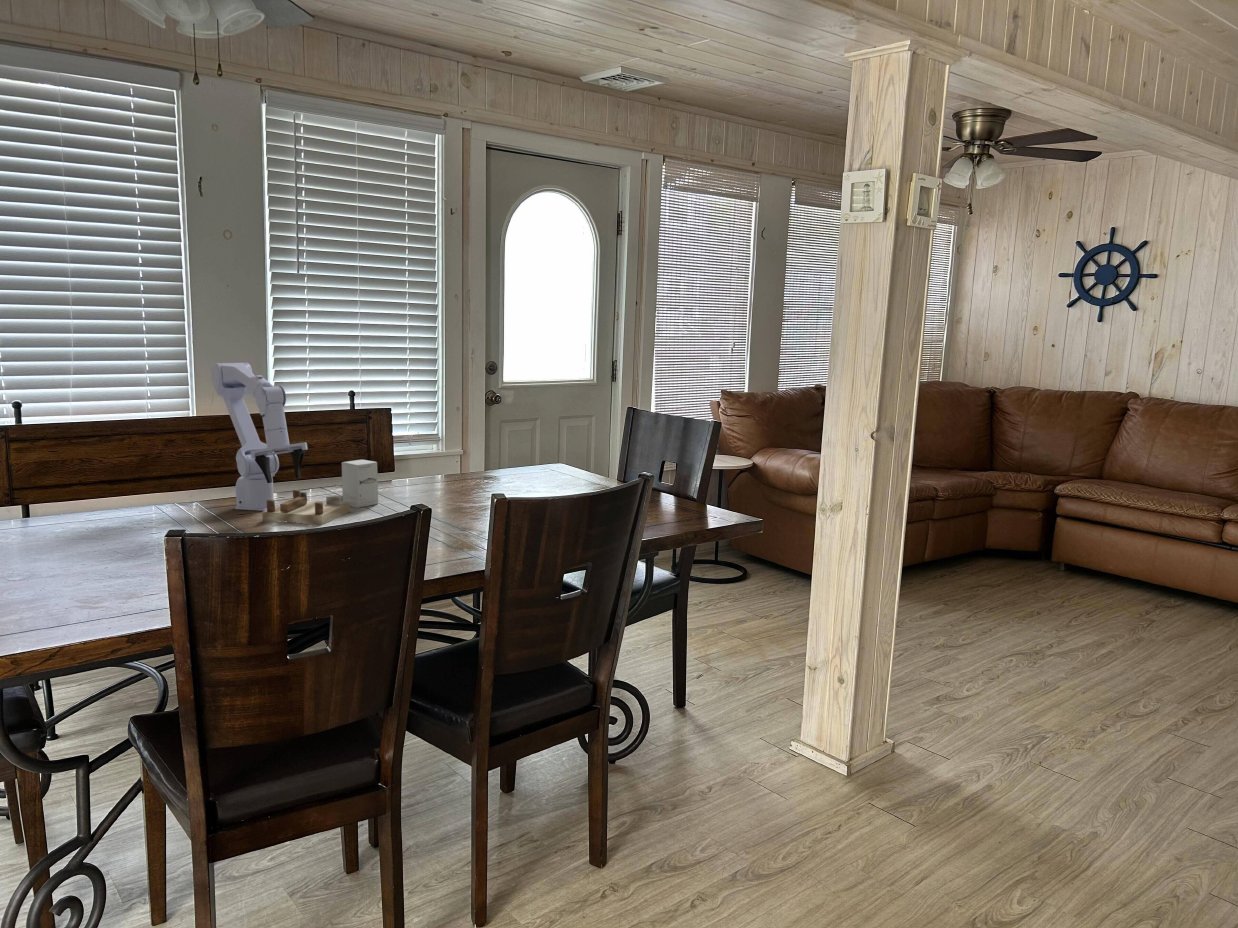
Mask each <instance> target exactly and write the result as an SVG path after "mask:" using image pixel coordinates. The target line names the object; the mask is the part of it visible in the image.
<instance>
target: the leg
mask: <svg viewBox="0 0 1238 928" xmlns="http://www.w3.org/2000/svg"><path fill="white" fill-rule="evenodd" d="M300 495H301V496H299V497H297V498H294V499H293V498H292V499H289V500H286V501H284V502H282V503H280V511H281V512H288V511H291V510H293V509H296V508H298V507H300V506H303V505H305V504H307V500H308V497H307V495H308V494H307V492H306V491H300Z"/></svg>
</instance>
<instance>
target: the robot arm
mask: <svg viewBox="0 0 1238 928" xmlns="http://www.w3.org/2000/svg"><path fill="white" fill-rule="evenodd" d="M210 370H211V371H210V372H211V373H210V374H211V383H212V384H213V388H214V389H215V392H216V393H217V396H219V397H220V398H222V399H223V401H224V403H225V406H226V409H227V412H228V414H229V416H230V419H231V422H232V425H233V427H234V429H235V432H236V434H237V437H238V440H239V443H240V445H241V447H240V448H239V449H238V450H237V451H236V456H235V460H236V465H237V466H236V467H237V471H238V473H239V474H240V477H238V478H237V480H236V483H235V499H236V500H235V501H236V507H234V509H235V510H242V511H243V510H244V511H245V510H247V511H261V512H263V511H266V510H267V500H275V499H274V479H273V477H275V476H276V475H275V474H276V473H277V472H278V471H279V468H280V461H279V457H278V455H280V454H287V453H290V455H291V459H292V462H293V467H294V475H295V478H296V479H301V478H302V476H301V475H302V465H303V461H304V458H305V456H306V451H307V450H308V449H309V448H308V443H307V442H306V441H305V442H298V443H291V444H290V439H289V433H288V426H287V421H286V420H287V419H286V413H285V409H284V407H285V405H286V403H287V394H286V391H285V388H284V387H283V386H282V385H280V384H279V385H275V386H274V385H273V384H272V383H271V382H269V381H268V380H267V379H265V378H264V376H263V375H262V374H258V375H257V374H256V375H255V374H254V372H253V369H252V366H251V364H250V363H249V362H247V361H244V362H222V363H219V362H215V363H214V362H213V364H212V366H211V368H210ZM248 394H249V395H250V396H252V397H253V398H254V399H255V403H256V406H257V408H258V411H259V415H260V416H261V418H262V422H263V429H264V436H265V441H266V443H265V442H263V441H261V440H260V437H259V434H258V433H257V429H256V427H255V425H254V422H253V419H252V417H251V414H250V411H249V410H248V407H247V404H246V402H245V400H244V397H246V396H247V395H248ZM280 504H281V503H277V502H275V507H276V506H278V505H280Z"/></svg>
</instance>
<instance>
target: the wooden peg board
mask: <svg viewBox="0 0 1238 928" xmlns="http://www.w3.org/2000/svg"><path fill="white" fill-rule="evenodd" d="M300 493H301V489H293V490H292V499H294V498H297V497H299V496H301V495H300ZM325 497H326V499H325V500H326V501H325V500H324V501H323V500H312V499H311V500H308V499H307V504H305V505H303V506H300V507H298V508H296V509H293V510H291V511H288V512H281V511H280V505H278V506H276V507H275V503H276V502H275V501H276V500H275V499H274V500H267V510H266V511H261V514H262V522H269V521H287V522H296V523H295V524H300V523H303V524H304V525H316V526H317V525H318V526H319V525H320V526H322V525H321V524H323V525H325V524H327V523H329V522H331V521H333V520H335V519H338V518H339V517H341V516H343V515H345V514H347V513H350V511H351V510H350V509H351V508H350V507H351V506H350V503H345V502H343V495H331V494H330V495H327V496H325ZM303 524H302V525H303Z"/></svg>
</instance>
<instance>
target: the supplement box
mask: <svg viewBox="0 0 1238 928" xmlns="http://www.w3.org/2000/svg"><path fill="white" fill-rule="evenodd" d="M378 475H379V474H378V462H377V461H373V460H367V459H356V460H348V461H342V462H341V481H342V482H341V483H342V485H341V487H342V490H341V491H342V496H343V502H345V503H350V507H352V508H356V509H359V508H362V507H368V506H375V505H378V504H379V488H378V487H379V486H378V483H379V482H378V480H379V479H378V478H379V477H378Z"/></svg>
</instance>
